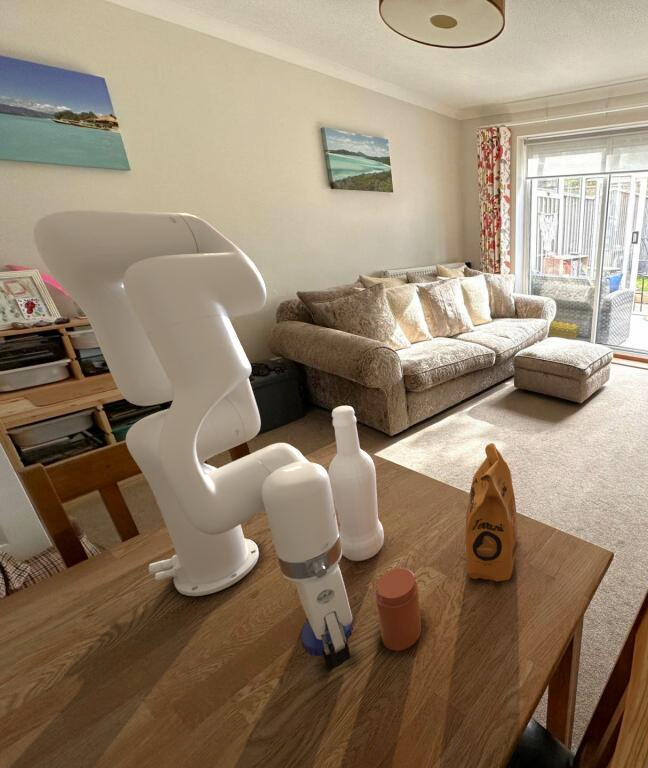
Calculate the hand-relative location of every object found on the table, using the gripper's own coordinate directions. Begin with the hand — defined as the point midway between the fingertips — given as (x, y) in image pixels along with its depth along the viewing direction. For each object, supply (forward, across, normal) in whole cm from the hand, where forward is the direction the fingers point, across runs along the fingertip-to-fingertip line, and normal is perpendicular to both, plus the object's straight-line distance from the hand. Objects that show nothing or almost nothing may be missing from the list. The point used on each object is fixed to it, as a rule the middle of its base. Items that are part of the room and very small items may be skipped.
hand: (330, 642), depth 60 cm
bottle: (+1, +16, -11) cm, 20 cm away
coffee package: (+1, -1, -29) cm, 29 cm away
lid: (-3, 0, 0) cm, 3 cm away
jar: (+1, -4, -9) cm, 10 cm away
